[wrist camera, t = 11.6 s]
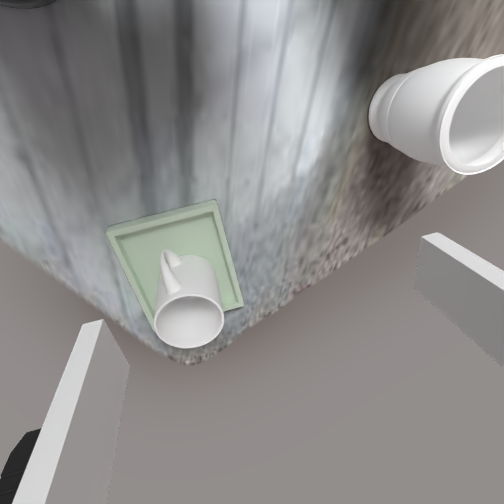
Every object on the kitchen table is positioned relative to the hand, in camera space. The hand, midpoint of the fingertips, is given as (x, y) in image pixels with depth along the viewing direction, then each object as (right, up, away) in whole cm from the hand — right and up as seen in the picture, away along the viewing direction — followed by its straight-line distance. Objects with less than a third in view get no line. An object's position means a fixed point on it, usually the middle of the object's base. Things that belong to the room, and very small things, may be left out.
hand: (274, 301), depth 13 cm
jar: (+19, +22, +29) cm, 41 cm away
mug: (-11, 0, +34) cm, 36 cm away
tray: (-12, 0, +34) cm, 36 cm away
